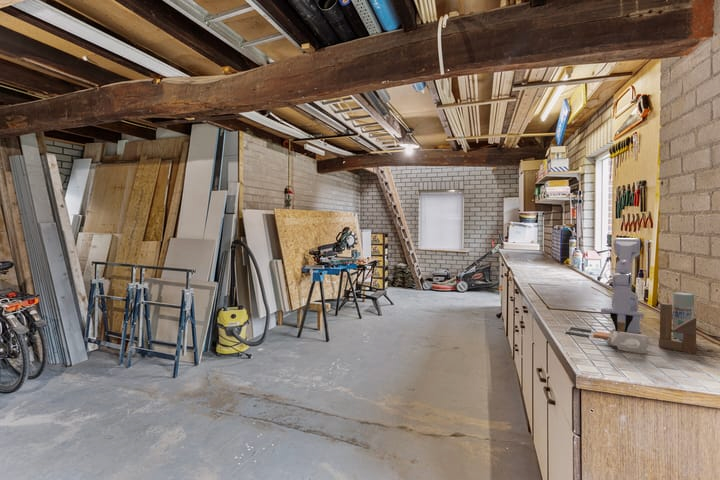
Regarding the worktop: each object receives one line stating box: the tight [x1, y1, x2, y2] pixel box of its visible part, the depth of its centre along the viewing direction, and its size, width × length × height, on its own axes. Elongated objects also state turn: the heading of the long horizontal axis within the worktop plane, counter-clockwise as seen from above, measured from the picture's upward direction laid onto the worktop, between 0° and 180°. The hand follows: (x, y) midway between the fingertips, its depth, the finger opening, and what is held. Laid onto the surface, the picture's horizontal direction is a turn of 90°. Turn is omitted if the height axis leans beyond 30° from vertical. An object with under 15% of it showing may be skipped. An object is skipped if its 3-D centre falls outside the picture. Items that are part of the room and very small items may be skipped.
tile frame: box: [565, 325, 592, 338], centre depth 158 cm, size 9×11×1 cm
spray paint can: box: [672, 291, 695, 341], centre depth 147 cm, size 6×6×20 cm
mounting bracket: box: [606, 330, 648, 354], centre depth 135 cm, size 12×6×11 cm, turn 56°
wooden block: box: [658, 302, 697, 354], centre depth 135 cm, size 4×11×18 cm, turn 47°
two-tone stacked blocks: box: [617, 321, 625, 334], centre depth 148 cm, size 2×7×8 cm, turn 141°
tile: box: [593, 330, 612, 340], centre depth 152 cm, size 6×6×2 cm
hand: (621, 331), depth 148 cm, fingers closed on two-tone stacked blocks, 2 cm apart
